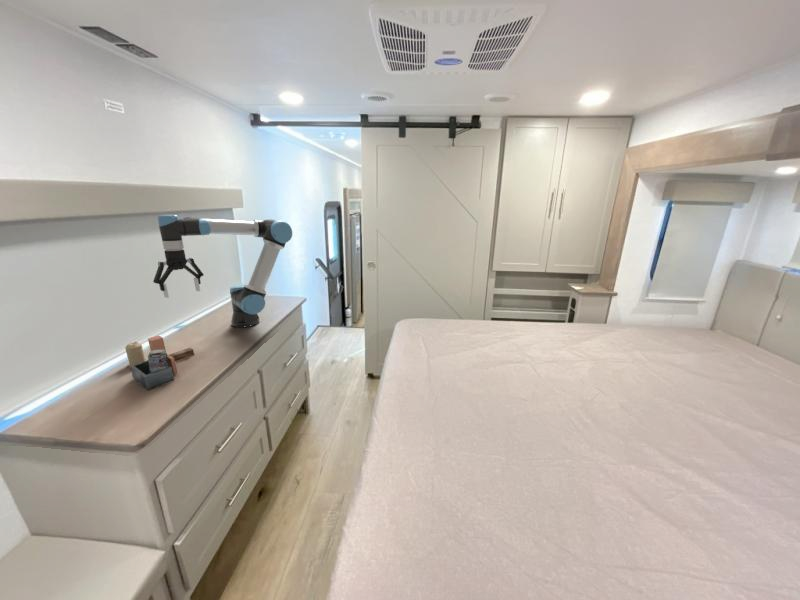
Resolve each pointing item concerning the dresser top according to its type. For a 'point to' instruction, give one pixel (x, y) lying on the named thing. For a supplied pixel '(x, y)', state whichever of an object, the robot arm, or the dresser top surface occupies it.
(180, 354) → the rail
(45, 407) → the dresser top surface
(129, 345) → the candle
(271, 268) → the robot arm
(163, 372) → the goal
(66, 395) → the dresser top surface
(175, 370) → the kicker
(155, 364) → the beverage can
